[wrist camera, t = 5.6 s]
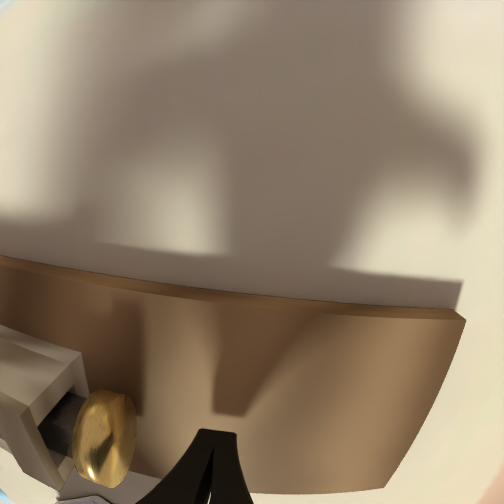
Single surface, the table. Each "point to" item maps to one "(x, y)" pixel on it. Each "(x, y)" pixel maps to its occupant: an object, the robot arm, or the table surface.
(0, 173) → the table surface
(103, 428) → the shaft
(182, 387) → the board
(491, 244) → the table surface
